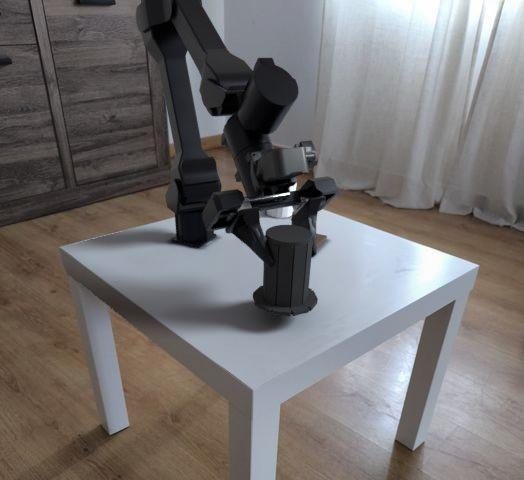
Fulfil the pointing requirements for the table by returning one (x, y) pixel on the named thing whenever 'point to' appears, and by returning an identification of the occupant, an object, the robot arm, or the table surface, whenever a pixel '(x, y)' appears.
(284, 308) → the hat
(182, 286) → the table surface
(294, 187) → the white cup
